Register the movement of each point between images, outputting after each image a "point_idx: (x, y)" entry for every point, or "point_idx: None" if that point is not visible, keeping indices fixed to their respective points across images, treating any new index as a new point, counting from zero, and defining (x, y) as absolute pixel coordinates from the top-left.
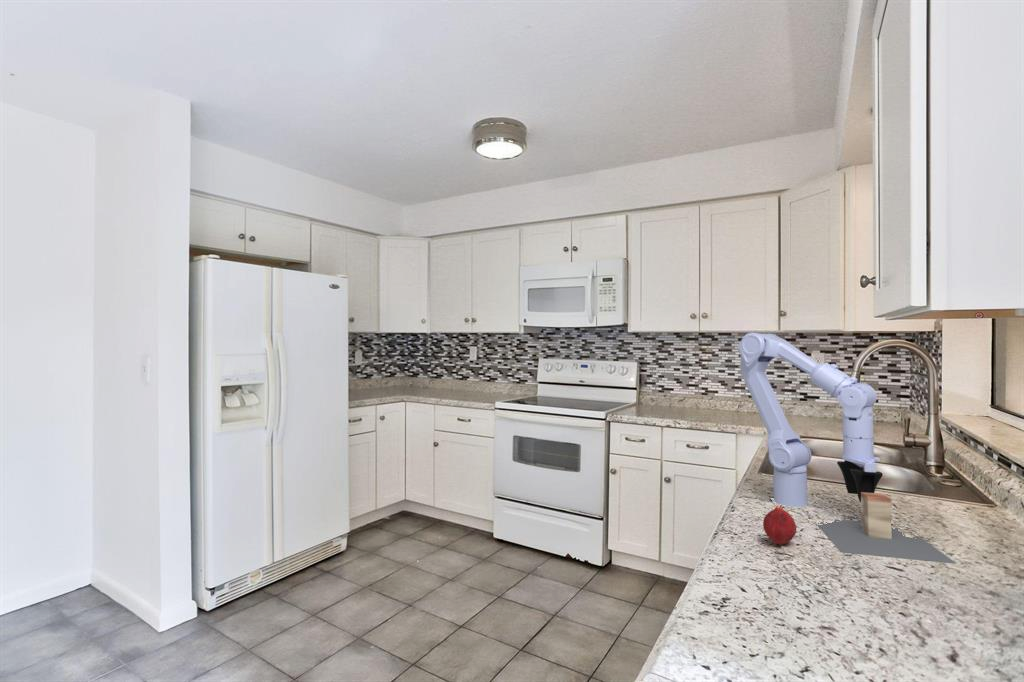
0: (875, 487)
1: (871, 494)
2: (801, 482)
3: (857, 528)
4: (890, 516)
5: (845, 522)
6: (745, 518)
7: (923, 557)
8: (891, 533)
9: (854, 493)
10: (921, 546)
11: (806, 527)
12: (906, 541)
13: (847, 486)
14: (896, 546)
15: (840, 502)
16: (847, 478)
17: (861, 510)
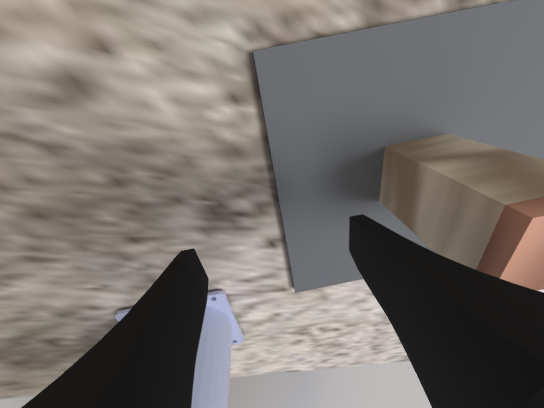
0: (449, 260)
1: (538, 267)
2: (210, 396)
3: (362, 209)
4: (527, 158)
5: (312, 232)
6: (335, 354)
7: None
8: (462, 138)
9: (201, 264)
10: (523, 49)
11: (361, 289)
12: (471, 91)
13: (204, 312)
14: (514, 132)
15: (14, 233)
16: (190, 358)
17: (423, 238)
